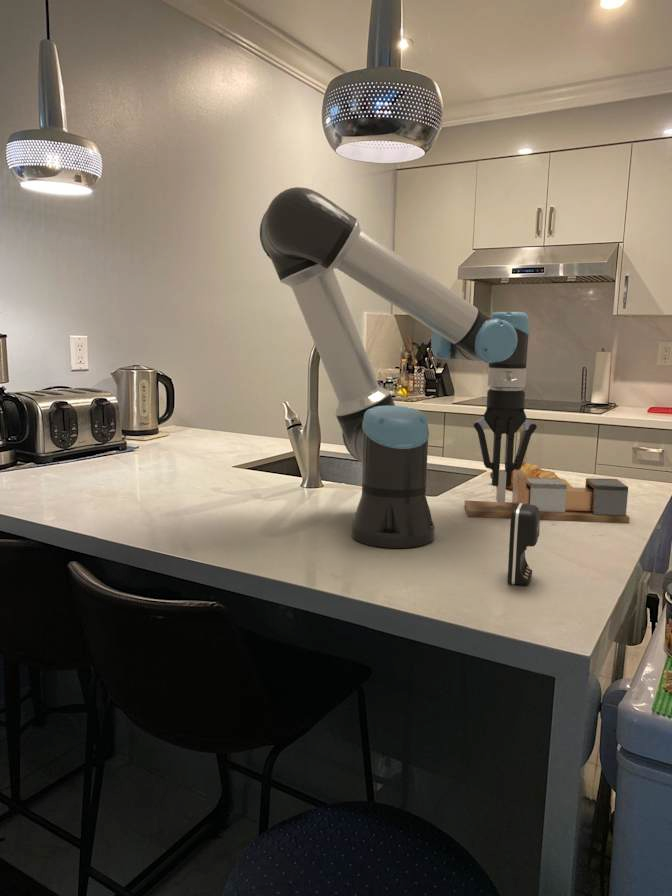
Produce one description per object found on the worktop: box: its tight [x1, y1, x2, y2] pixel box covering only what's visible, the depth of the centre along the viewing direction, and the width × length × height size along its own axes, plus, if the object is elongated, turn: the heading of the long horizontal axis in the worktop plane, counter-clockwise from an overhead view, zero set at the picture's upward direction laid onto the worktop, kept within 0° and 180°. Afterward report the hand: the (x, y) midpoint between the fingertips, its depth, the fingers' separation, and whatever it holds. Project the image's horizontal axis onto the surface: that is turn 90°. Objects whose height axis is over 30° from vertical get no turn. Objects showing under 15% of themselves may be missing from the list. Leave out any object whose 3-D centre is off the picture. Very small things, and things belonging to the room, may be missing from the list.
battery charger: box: [506, 503, 541, 586], centre depth 102 cm, size 7×4×11 cm, turn 159°
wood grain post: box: [511, 470, 594, 511], centre depth 140 cm, size 20×7×7 cm, turn 84°
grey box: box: [584, 477, 629, 516], centre depth 139 cm, size 6×8×6 cm
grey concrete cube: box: [526, 478, 567, 513], centre depth 140 cm, size 7×7×6 cm
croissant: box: [489, 461, 573, 491], centre depth 163 cm, size 21×10×8 cm, turn 52°
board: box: [464, 500, 630, 524], centre depth 141 cm, size 32×9×1 cm, turn 84°
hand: (500, 501), depth 142 cm, fingers closed
